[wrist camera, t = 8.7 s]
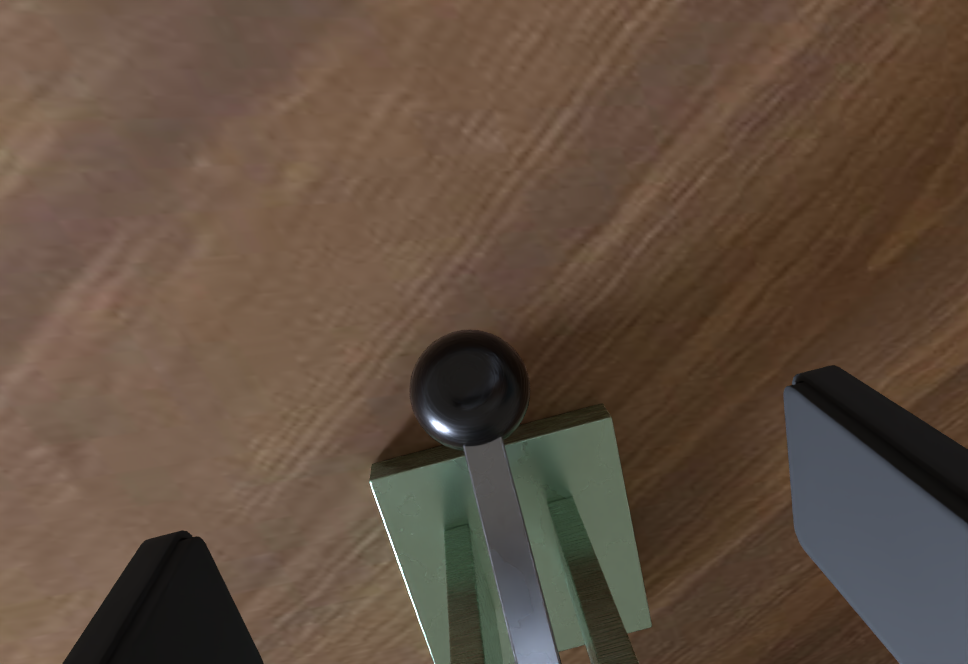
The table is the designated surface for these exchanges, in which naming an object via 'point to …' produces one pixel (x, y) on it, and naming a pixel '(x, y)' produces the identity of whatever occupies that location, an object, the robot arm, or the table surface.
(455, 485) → the bracket
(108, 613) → the robot arm
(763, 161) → the table surface
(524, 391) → the lever
